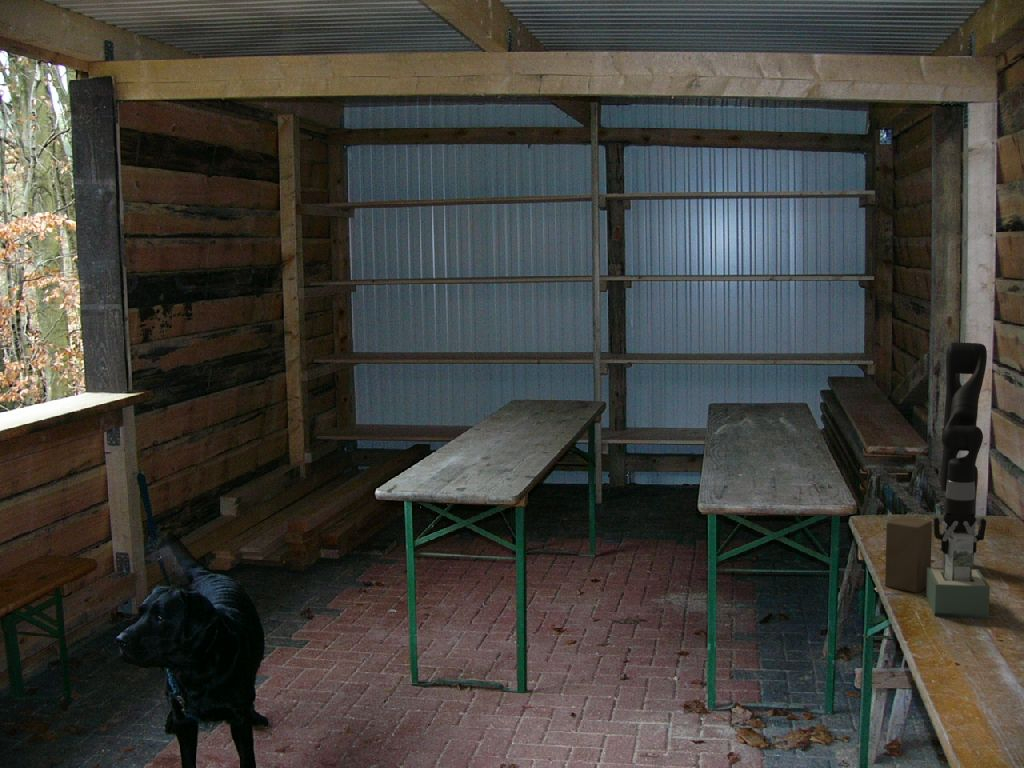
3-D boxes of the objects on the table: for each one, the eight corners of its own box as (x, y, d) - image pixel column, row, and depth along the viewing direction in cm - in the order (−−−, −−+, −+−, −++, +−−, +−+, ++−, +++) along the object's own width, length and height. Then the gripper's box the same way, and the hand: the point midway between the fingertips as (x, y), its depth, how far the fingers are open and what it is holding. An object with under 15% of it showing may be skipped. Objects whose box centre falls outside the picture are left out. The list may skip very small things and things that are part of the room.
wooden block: (884, 586, 338) (886, 521, 335) (898, 578, 345) (900, 515, 342) (916, 593, 331) (918, 527, 328) (930, 585, 338) (932, 520, 335)
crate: (926, 597, 328) (927, 567, 326) (977, 599, 325) (978, 569, 323) (934, 616, 312) (935, 584, 311) (988, 618, 309) (989, 586, 308)
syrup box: (963, 578, 320) (964, 528, 318) (972, 584, 314) (973, 534, 312) (943, 578, 320) (944, 529, 318) (951, 585, 314) (953, 535, 312)
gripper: (985, 493, 316) (982, 550, 318) (931, 492, 319) (929, 549, 321) (990, 499, 309) (988, 558, 311) (935, 498, 312) (933, 556, 314)
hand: (958, 553), depth 316 cm, fingers closed on syrup box, 6 cm apart
